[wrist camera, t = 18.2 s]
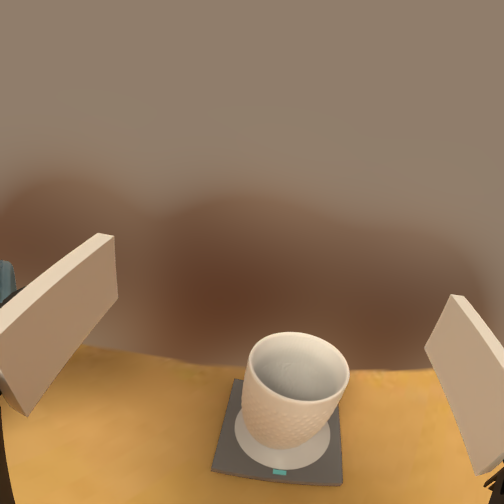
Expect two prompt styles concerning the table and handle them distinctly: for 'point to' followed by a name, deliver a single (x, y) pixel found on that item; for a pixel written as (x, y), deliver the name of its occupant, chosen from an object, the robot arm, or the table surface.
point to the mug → (291, 388)
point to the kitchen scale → (277, 452)
